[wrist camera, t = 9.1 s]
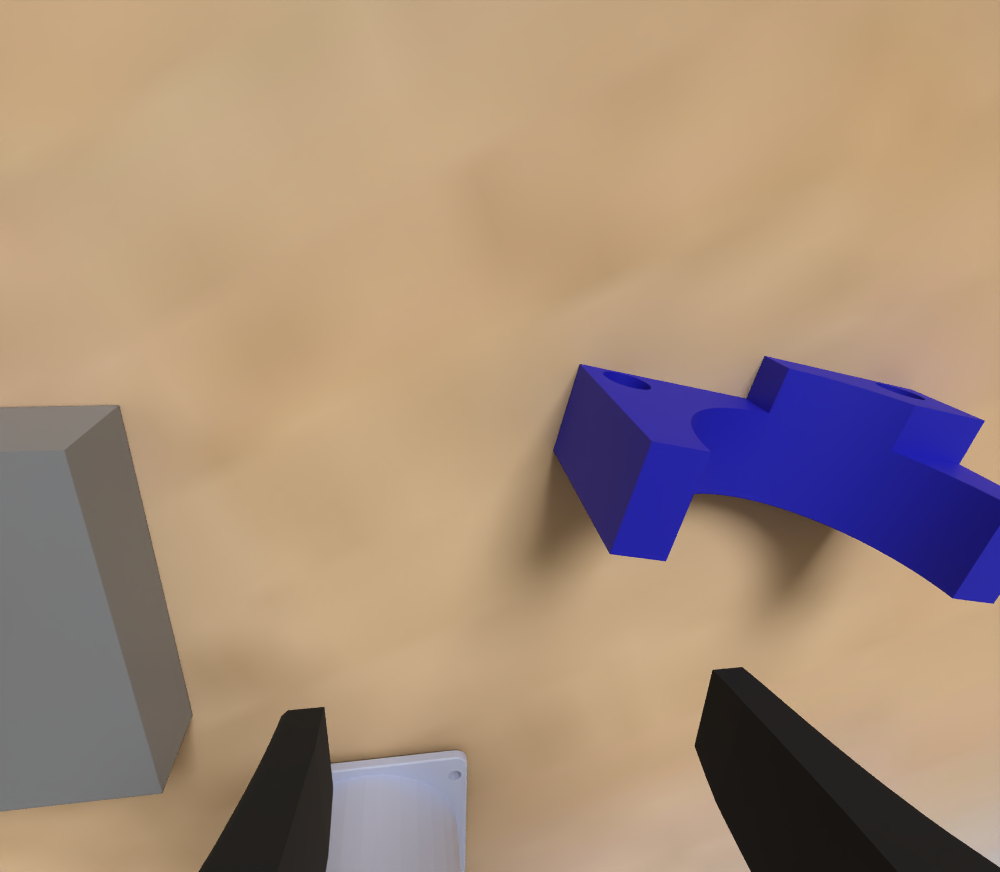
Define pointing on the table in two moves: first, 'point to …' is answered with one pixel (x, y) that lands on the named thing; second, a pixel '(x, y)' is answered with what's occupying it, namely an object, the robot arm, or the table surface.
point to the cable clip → (786, 465)
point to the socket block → (80, 617)
